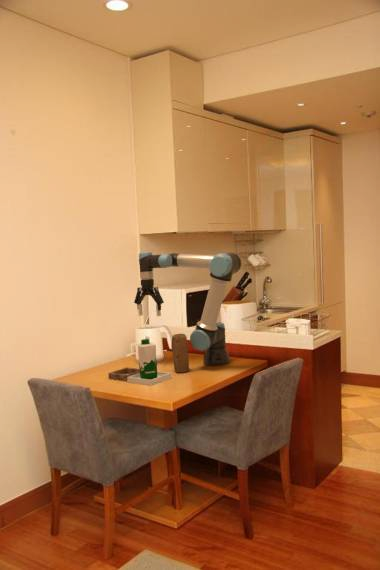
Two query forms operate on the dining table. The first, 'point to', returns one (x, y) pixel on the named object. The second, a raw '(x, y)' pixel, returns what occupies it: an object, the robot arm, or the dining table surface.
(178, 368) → the block
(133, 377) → the tray
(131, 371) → the dark brown square tray
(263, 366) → the dining table surface
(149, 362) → the soya milk
